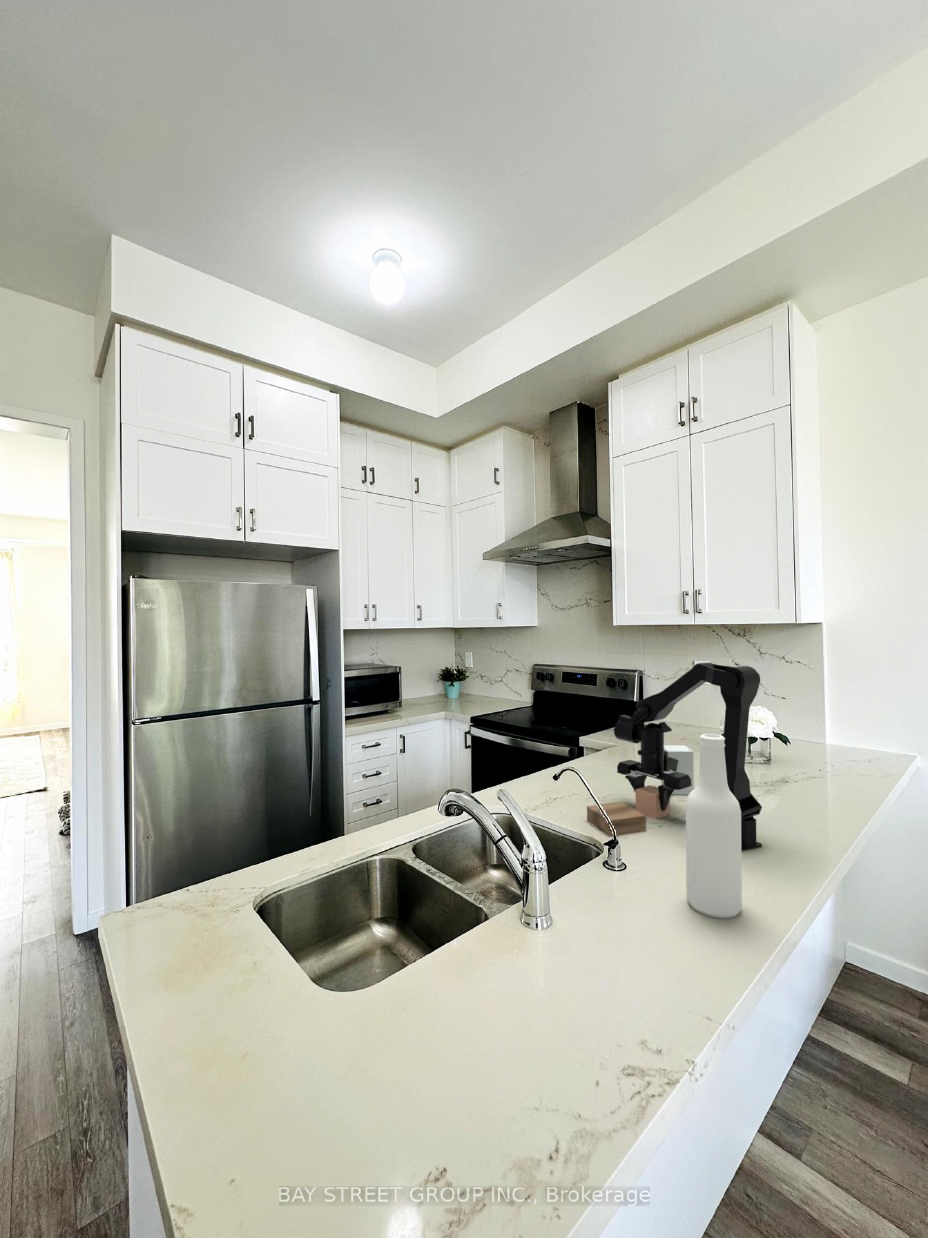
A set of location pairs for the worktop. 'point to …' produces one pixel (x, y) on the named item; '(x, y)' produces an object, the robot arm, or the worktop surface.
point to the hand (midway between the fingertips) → (652, 807)
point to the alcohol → (713, 837)
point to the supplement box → (681, 764)
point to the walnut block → (617, 818)
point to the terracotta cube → (650, 802)
